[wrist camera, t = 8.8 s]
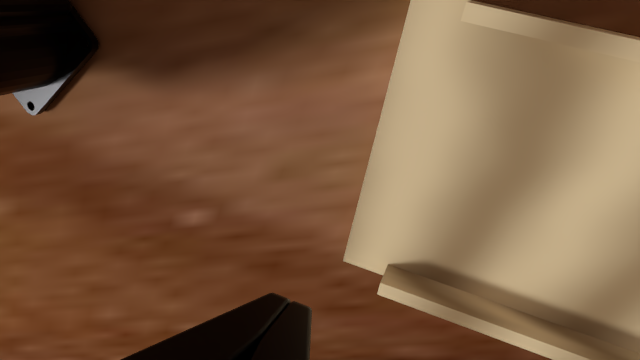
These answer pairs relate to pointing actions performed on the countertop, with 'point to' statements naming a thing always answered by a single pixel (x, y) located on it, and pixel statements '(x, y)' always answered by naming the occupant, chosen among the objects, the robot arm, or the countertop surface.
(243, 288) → the countertop surface
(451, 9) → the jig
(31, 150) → the countertop surface
